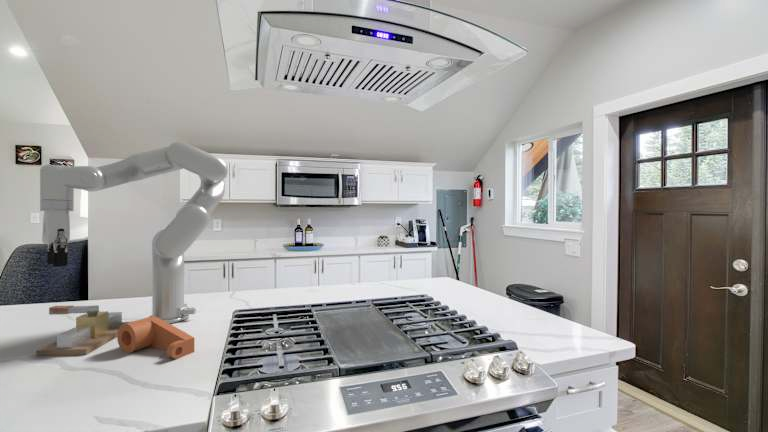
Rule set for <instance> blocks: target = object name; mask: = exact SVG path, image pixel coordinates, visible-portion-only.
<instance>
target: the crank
mask: <svg viewBox="0 0 768 432" xmlns="http://www.w3.org/2000/svg"><path fill="white" fill-rule="evenodd" d="M128 322H129V323H125V324H122V325H121V326H120V327H119V329H118V333H117V337H116V338H117V344H118V347H119V348H120V350H121V351H122V352H124V353H129V354H131V353H134V352H137V351H140V350H142V349H146V348H149V347H151V348H155V349H156V348H157V349H160V350H165V351H166V356H167V357H168V358H171V359H175V360H176V359H177V360H178V359H181V358H184V357H186V356H187V355H191V354H193V353H195V337H194V336H192V335H190V334H189V333H187V332H185V331H183V330H181V329H180V328H178V327H176V326H174V325H173V324H172V323H167V322H165V321H164V320H162V319H160V318H158V317H156V316H152V317H149V316H148V317H145V318H141V319H136V320H134V321H128ZM185 355H186V356H185Z"/></svg>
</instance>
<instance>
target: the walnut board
mask: <svg viewBox="0 0 768 432" xmlns="http://www.w3.org/2000/svg"><path fill="white" fill-rule="evenodd" d="M129 322H130V321H124V322H123V321H122V323H121V324H119V325H117V326H115V327H113V328H111V329H109V330H108V332H106V333H104V334H102V335H100V336H98V337H96V338H91V339H89V340H87V341H85V342H83V343H81V344H79V345H77V346H75V347H73V348H65V349H57V341H55V342H53V343H50V344H48V345H45V346H44V347H42V348H38V349H37V350H36V351H35V357H58V356H59V357H60V356H61V357H64V356H87V355H89V354H91V353H92V352H94V351H96V350H97V349H99V348H101V347H103V346H104V345H106V344H108V343H109V342H111V341H113V340H114V339H116V338H117V333H118V329H119V327H120V326H121V325H122V324H125V323H129Z"/></svg>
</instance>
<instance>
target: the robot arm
mask: <svg viewBox="0 0 768 432" xmlns="http://www.w3.org/2000/svg"><path fill="white" fill-rule="evenodd" d="M180 170H186V171H188V172H191V173H193V174H196V175H197V176H198V177H199V179H200V186H199V188H198V189H197V190H196V192H194V194H193V196H192V197H191V198H190V199H189V200H188V201H187V202H186V203H185V204H184V205H183V206H182V207H181V208H179V209H178V210H177V212H176V215H175V217H174V218H172V220H171V221H170V222H169V223H168V225H167V226H166V227H165V228H164V229H161V230H159V231H158V232H156V234H155V235H154V236H153V237H152V241H151V253H152V254H151V256H152V258H151V259H152V278H151V279H152V284H151V286H152V289H151V290H152V293H151V294H152V295H151V296H152V297H151V298H152V299H151V300H152V307H151V309H152V310H151V311H152V313H151V314H152V315H150V316H148V317H152V316H156V317H158V318H160V319H162V320H164V321H165V322H167V323H169V324H174V323H178V322H181V321H184V320H187V319H188V318H189V317H190V315H195V314H196V313H197V309H196V308H195V307H188V304H187V303H185V253H186V252H187V251H188V250H189V248H190V247H191V246H192V245H193V244H194V243H195V241H196V240H197V239H198V238H199V237H200V236H201V234H202V233H203V232H204V230H205V229H206V228H207V226H208V224H209V222H210V215H211V214H212V213H213V211H214V210H215V209H216V208H217V206H219V204H220V202H221V201H222V200H223V198H224V196H225V192H226V183H225V178H226V177H227V176H228V173H229V172H228V171H229V169H228V165H227V163H226V162H225V161H224V160H223V159H221V158H220V157H218V156H216V155H213V154H211V153H209V152H207V151H204V150H202V149H201V148H198V147H195V146H193V145H191V144H189V143H187V142H183V141H175V142H173V143H171V144H169V145H168V146H165V147H159V148H155V149H151V150H146V151H142V152H138V153H135V154H134V153H133V154H131V155H130V156H128V157H125V158H124V159H122V160H119V161H116V162H113V163H109V164H105V165H104V164H103V165H102V166H96V167H94V166H91V165H84V166H83V165H80V166H79V165H78V166H68V165H67V166H66V165H60V164H59V165H58V164H46V165H41V167H40V169H39V212H43V216H42V217H43V218H42V234H41V235H42V237H41V238H42V239H41V242H42V243H43V244H45V245H47V252H46V258H47V259H46V264H47V265H52V267H54V268H57V267H58V268H59V267H67V266H68V265H69V264H68V253H69V252H68V246H67V244H68V243H70V238H71V233H70V232H71V227H70V217H71V216H70V212H74V209H75V208H74V190H76V189H77V190H83V191H87V192H98V191H102V190H106V189H109V188H113V187H118V186H120V185H125V184H128V183H133V182H137V181H141V180H145V179H148V178H153V177H156V176H159V175H162V174H163V175H164V174H168V173H171V172H172V173H173V172H175V171H180Z"/></svg>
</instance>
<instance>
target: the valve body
mask: <svg viewBox="0 0 768 432" xmlns="http://www.w3.org/2000/svg"><path fill="white" fill-rule="evenodd" d="M122 322H123V312H122V311H117V312H116V311H113V312H109V310H107V311H99V312H96V313H83V314H82V315H79V316H76V318H75V325H76V326H75V327H72V328H69V330H66V331H63V332H60V333H59V334H57V335H56V342H57V349H65V348H73V347H75V346H77V345H79V344H81V343H83V342H85V341H87V340H89V339H91V338H96V337H98V336H100V335H102V334H104V333H106V332H108V330H109V329H111V328H113V327H115V326H117V325H119V324H121V323H122Z"/></svg>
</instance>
